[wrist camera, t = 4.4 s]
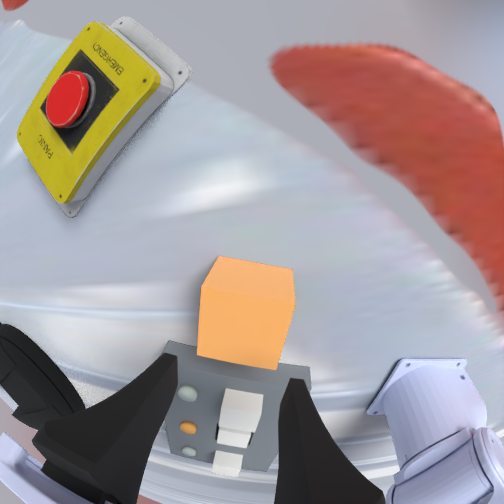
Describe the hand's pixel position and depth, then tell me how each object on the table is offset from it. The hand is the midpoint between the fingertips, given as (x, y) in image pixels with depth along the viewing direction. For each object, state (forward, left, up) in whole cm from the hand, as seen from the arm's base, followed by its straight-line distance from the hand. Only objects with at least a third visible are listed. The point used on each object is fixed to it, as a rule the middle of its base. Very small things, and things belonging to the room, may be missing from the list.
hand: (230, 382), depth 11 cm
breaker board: (0, +15, -8) cm, 17 cm away
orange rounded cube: (0, 0, -8) cm, 8 cm away
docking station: (+38, +31, -9) cm, 50 cm away
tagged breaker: (-1, +15, -8) cm, 17 cm away
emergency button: (+14, -12, -9) cm, 20 cm away
